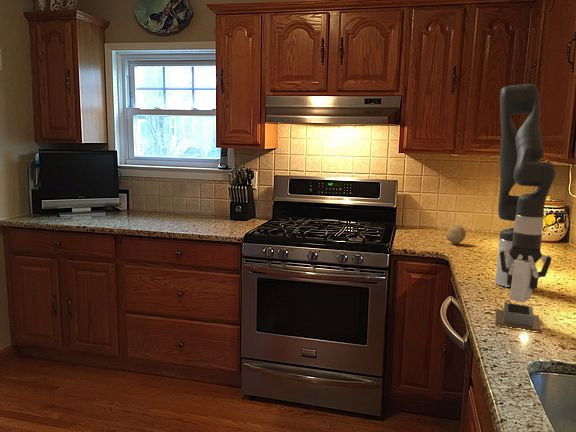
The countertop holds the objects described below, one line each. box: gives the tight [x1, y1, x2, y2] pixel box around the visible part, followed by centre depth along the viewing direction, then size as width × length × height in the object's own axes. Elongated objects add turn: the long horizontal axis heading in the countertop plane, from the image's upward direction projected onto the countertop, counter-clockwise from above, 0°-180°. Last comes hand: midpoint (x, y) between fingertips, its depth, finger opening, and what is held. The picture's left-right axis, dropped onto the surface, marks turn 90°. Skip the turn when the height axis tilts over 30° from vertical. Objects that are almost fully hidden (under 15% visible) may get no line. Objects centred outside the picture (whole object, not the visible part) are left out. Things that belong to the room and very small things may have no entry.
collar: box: [494, 302, 543, 333], centre depth 152 cm, size 13×12×4 cm
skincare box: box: [509, 260, 533, 303], centre depth 150 cm, size 6×4×12 cm
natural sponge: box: [446, 224, 466, 245], centre depth 260 cm, size 9×9×10 cm
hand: (521, 287), depth 151 cm, fingers closed on skincare box, 5 cm apart
